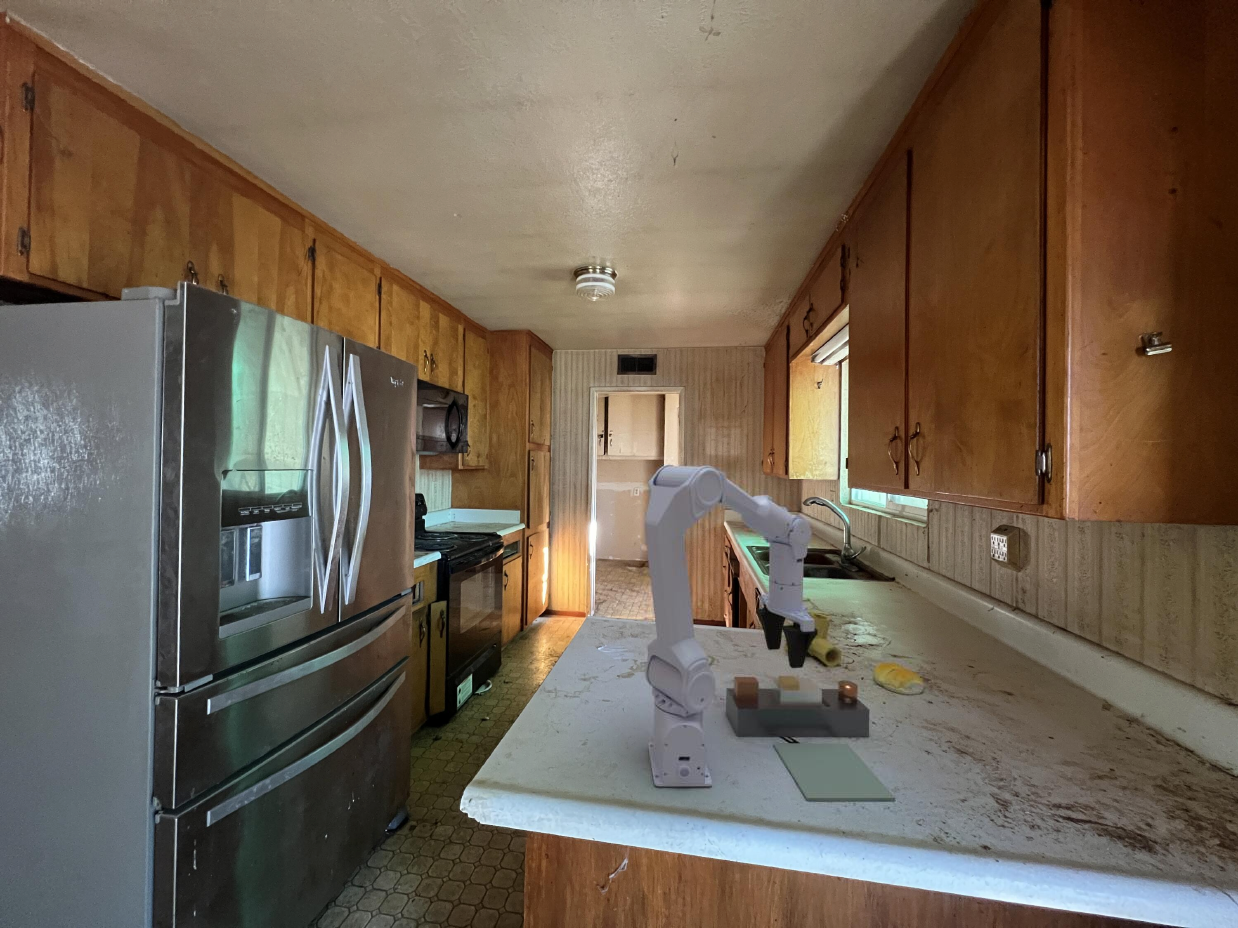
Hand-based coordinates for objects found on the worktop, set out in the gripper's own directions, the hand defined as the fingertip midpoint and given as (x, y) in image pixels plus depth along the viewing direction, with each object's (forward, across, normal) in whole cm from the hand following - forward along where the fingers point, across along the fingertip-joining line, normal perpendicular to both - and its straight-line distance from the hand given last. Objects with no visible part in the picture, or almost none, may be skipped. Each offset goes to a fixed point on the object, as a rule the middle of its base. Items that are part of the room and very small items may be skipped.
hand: (784, 657), depth 82 cm
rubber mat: (+10, -15, +1) cm, 18 cm away
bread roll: (+11, +8, -30) cm, 33 cm away
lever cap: (+6, -3, 0) cm, 7 cm away
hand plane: (+10, -3, 0) cm, 11 cm away
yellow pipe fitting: (+11, +24, -20) cm, 33 cm away
